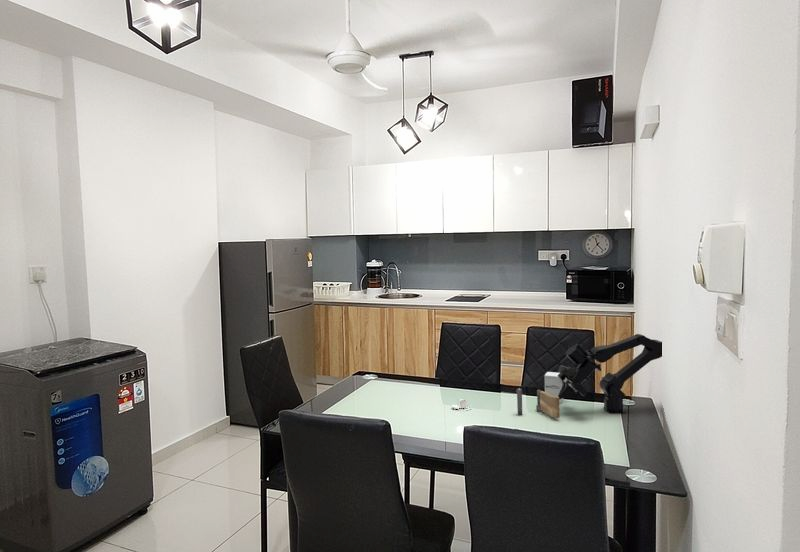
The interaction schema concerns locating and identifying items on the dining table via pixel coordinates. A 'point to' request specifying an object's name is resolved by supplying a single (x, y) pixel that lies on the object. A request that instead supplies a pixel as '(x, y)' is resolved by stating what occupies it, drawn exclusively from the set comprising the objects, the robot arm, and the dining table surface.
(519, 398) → the post
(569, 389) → the robot arm
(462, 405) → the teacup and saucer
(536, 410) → the hinge base
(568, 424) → the dining table surface
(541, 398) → the wooden plank panel
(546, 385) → the supplement box
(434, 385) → the dining table surface
